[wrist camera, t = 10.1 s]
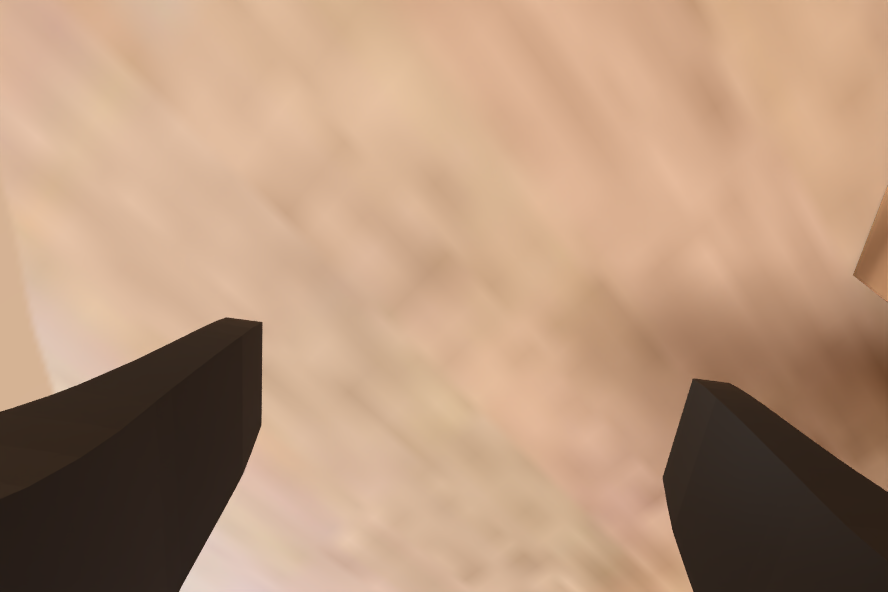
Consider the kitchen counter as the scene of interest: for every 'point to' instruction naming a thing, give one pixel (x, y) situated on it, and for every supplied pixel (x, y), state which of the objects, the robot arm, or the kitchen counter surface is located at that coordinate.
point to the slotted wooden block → (876, 254)
